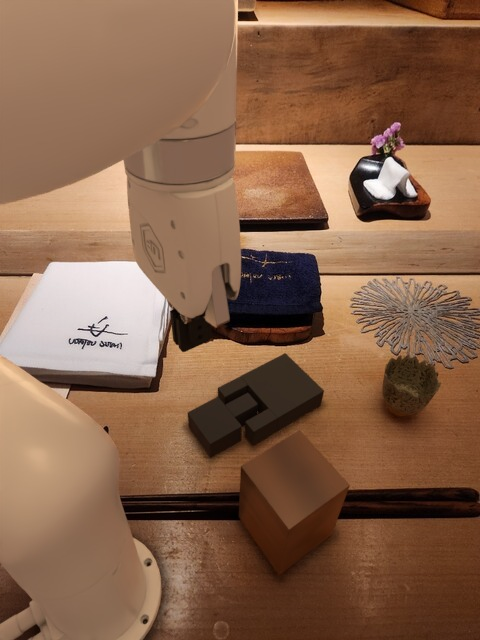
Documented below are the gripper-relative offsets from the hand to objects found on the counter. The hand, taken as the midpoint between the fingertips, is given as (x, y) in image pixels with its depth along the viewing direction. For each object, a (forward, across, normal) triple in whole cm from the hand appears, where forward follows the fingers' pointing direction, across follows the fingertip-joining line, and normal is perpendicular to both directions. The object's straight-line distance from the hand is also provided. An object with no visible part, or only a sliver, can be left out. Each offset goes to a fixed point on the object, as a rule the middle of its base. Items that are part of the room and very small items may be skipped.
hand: (192, 341), depth 43 cm
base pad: (+25, -4, +15) cm, 30 cm away
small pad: (+25, -5, +7) cm, 26 cm away
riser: (+25, +11, +5) cm, 28 cm away
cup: (+25, +7, +30) cm, 40 cm away
